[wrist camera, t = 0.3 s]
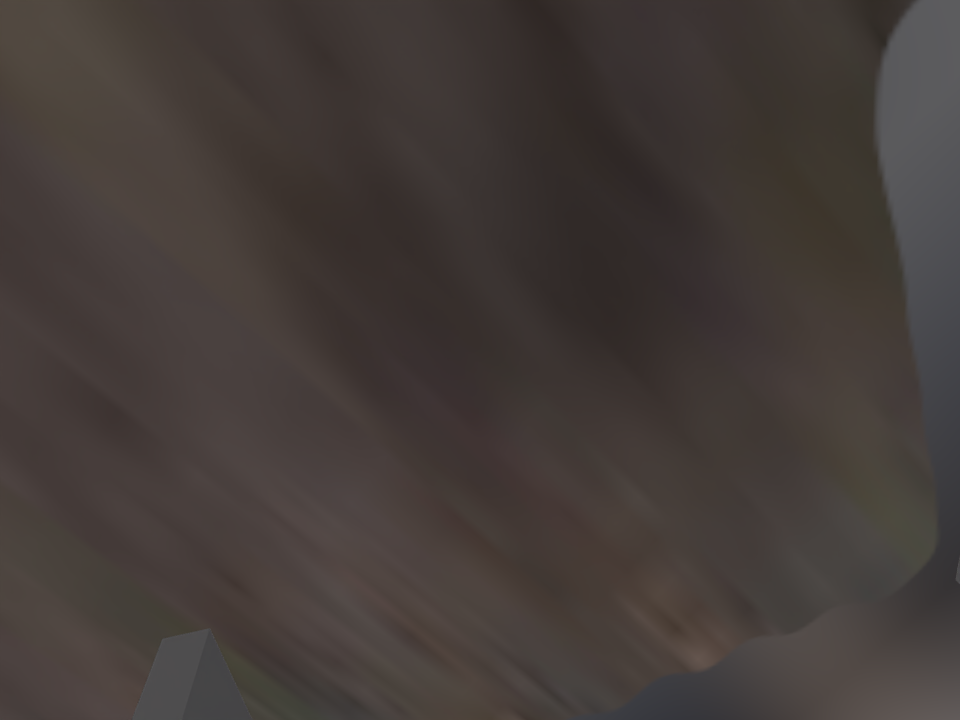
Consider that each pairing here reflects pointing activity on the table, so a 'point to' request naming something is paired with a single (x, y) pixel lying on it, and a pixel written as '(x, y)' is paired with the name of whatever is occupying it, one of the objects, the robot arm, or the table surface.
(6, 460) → the table surface
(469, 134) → the table surface
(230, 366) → the table surface
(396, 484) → the table surface
